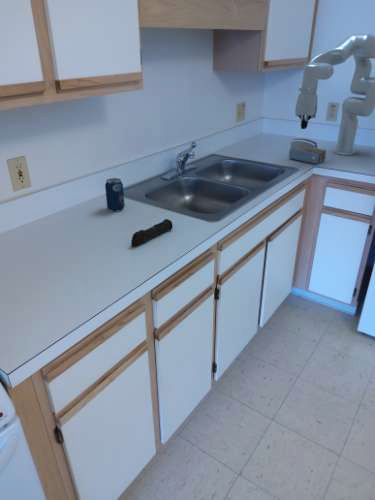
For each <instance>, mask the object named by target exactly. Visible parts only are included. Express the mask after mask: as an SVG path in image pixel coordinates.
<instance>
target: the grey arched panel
mask: <svg viewBox="0 0 375 500" xmlns="http://www.w3.org/2000/svg"><path fill="white" fill-rule="evenodd" d="M297 145H299V146H305V147H311V148H317V149H319V148H318V142H317V141H316V140H313V139H311V138H307V137H297V138H296V137H295V138H293V139H292V140H291V142H290V148H289V150H290V149H292V148H293V147H295V146H297Z"/></svg>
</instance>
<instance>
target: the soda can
mask: <svg viewBox="0 0 375 500" xmlns="http://www.w3.org/2000/svg"><path fill="white" fill-rule="evenodd" d="M104 186H105V187H104V188H105V189H104V190H105V198H106V207H107V209H108V210H109V209H110V210H113V211H117V210H121V211H123V210H124V208H125V206H126V205H125V196H124V195H125V193H124V192H125V191H124V184H123V182H122V180H121V179H120V178H116V177H115V178H107V179H106V180H105V184H104ZM122 209H123V210H122ZM110 210H109V211H110ZM113 211H112V212H113Z"/></svg>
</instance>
